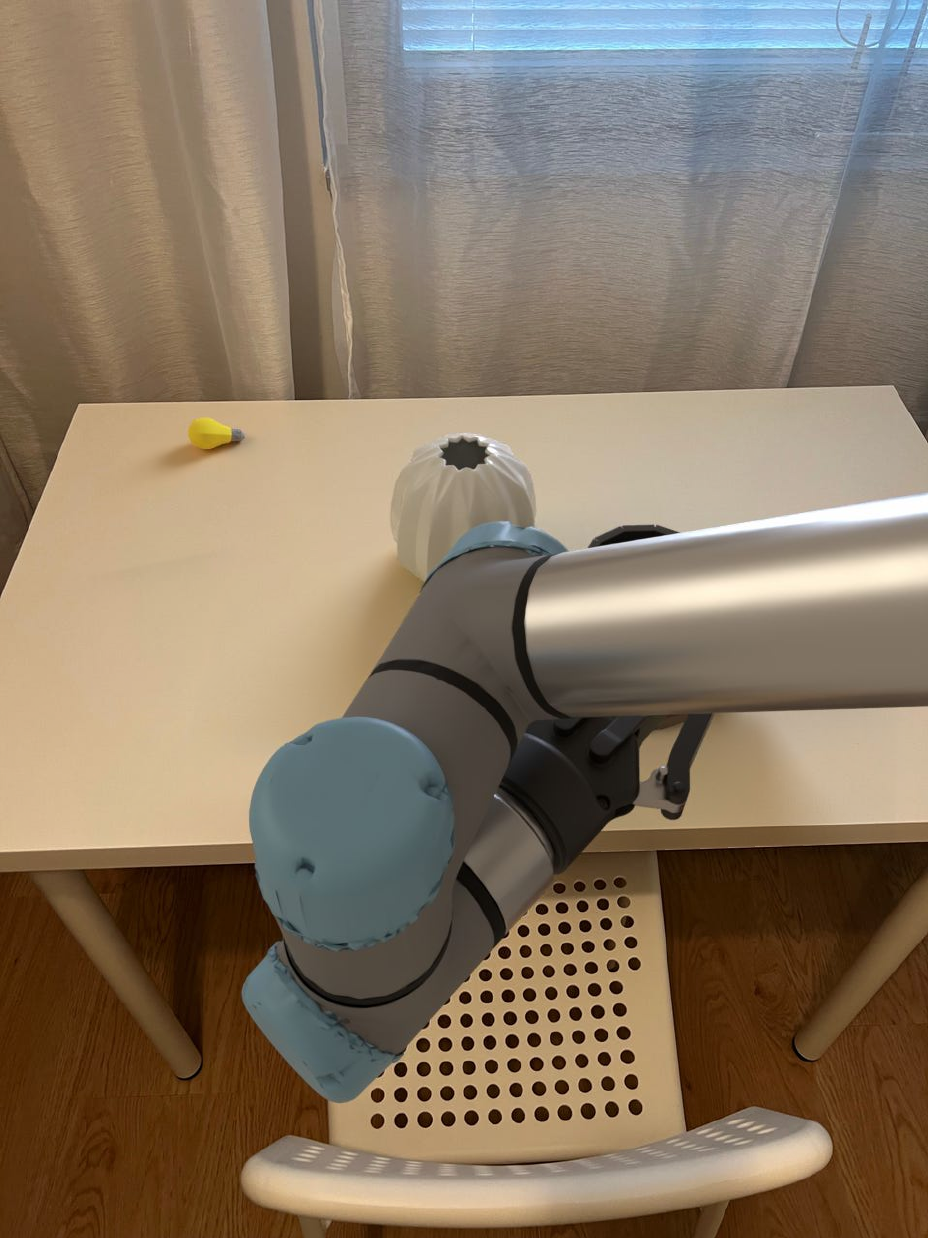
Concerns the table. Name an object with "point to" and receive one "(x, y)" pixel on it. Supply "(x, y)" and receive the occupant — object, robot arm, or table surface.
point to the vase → (456, 496)
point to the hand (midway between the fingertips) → (739, 589)
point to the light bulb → (212, 433)
